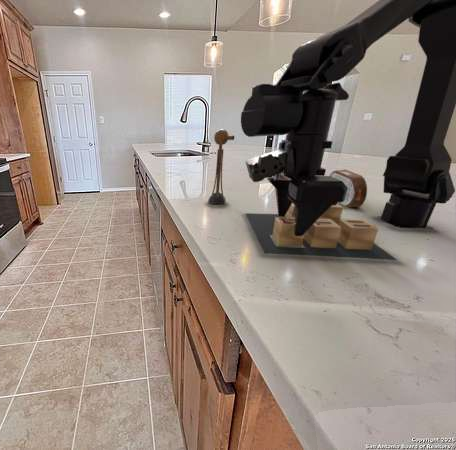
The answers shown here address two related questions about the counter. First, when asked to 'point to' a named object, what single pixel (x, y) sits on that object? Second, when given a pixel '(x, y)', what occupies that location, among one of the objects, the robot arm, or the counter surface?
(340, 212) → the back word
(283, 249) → the letter mat
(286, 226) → the s tile
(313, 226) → the front word
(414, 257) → the counter surface
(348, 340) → the counter surface
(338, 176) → the tin
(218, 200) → the wooden tabletop sculpture
